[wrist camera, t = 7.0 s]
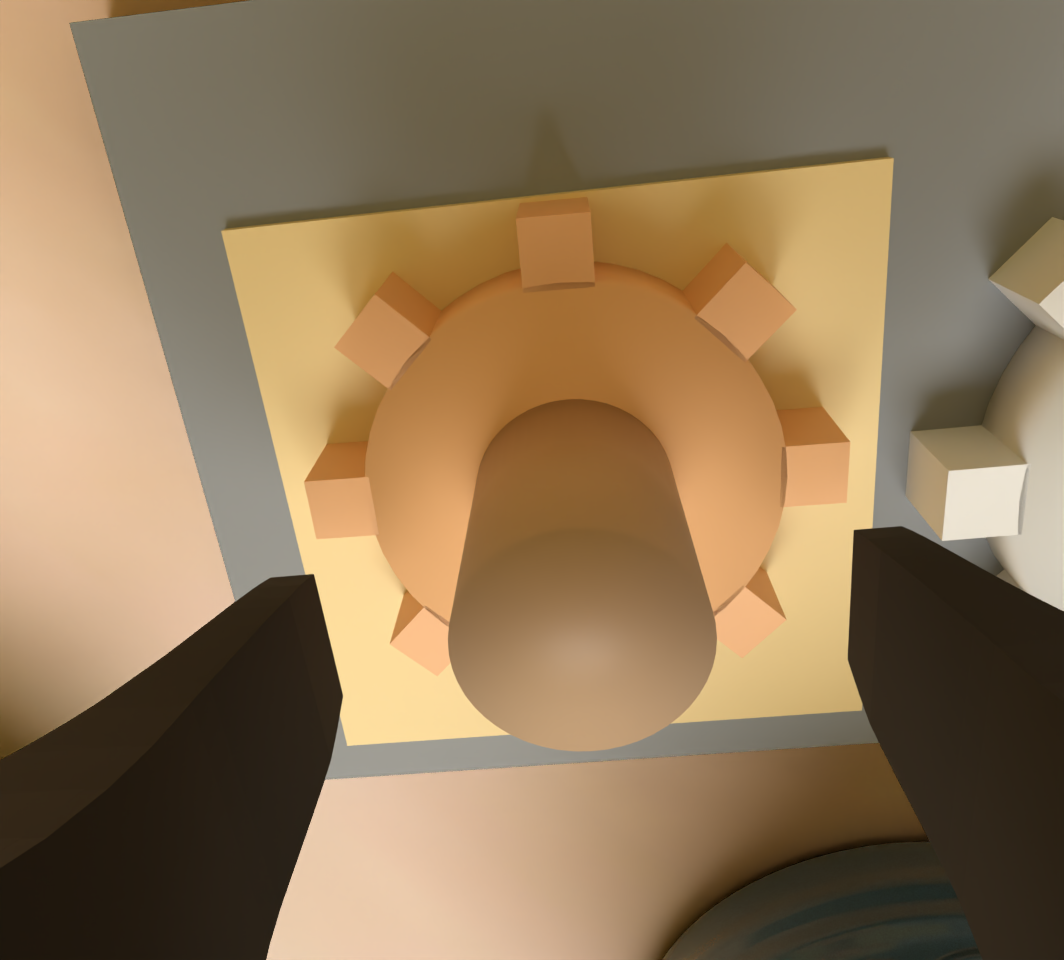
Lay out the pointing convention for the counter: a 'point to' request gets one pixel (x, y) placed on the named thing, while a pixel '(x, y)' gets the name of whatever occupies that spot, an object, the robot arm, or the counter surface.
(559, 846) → the counter surface
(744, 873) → the counter surface
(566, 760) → the gear board
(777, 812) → the counter surface
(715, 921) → the canister
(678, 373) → the wood gear
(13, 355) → the counter surface
